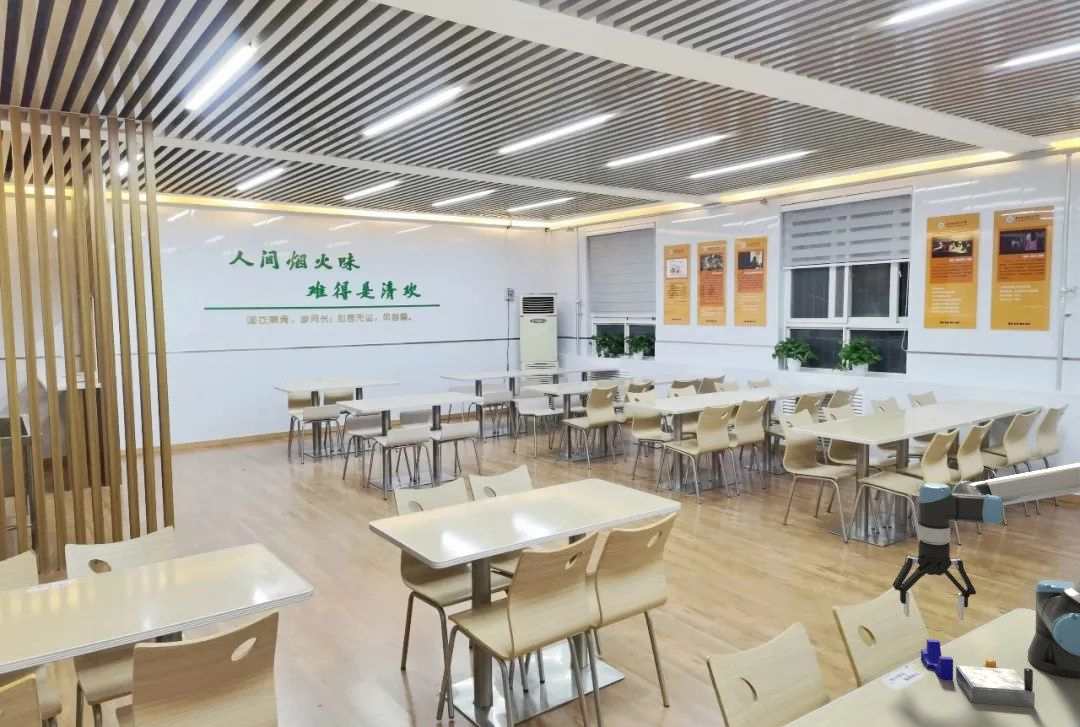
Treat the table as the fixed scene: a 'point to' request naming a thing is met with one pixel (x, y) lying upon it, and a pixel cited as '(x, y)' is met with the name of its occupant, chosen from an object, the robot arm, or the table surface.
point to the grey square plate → (996, 685)
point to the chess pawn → (990, 663)
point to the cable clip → (937, 660)
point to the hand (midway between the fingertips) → (933, 616)
